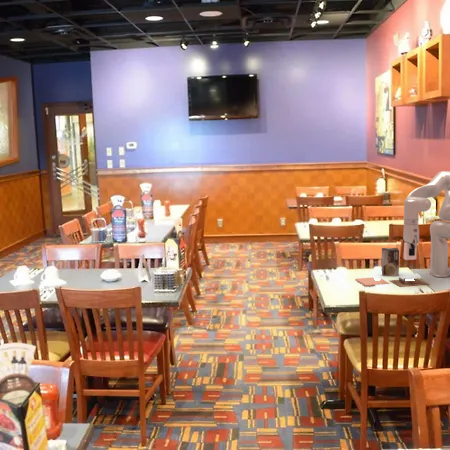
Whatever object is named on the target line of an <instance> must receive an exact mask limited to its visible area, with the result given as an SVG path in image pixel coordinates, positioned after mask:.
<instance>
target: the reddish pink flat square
mask: <svg viewBox="0 0 450 450" xmlns="http://www.w3.org/2000/svg"><path fill="white" fill-rule="evenodd" d="M354 280H355V281H356V282H357V283H359V284H360V285H362V286H364V287H365V288H369V287H376V286H377V285H389V284H390V283H391V282H389V281H386V280H385V279H383V278H381V280H380V281H375V280H374V278H373V276H372V277H362V278H361V277H360V278H359V277H358V278H355V279H354Z"/></svg>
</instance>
